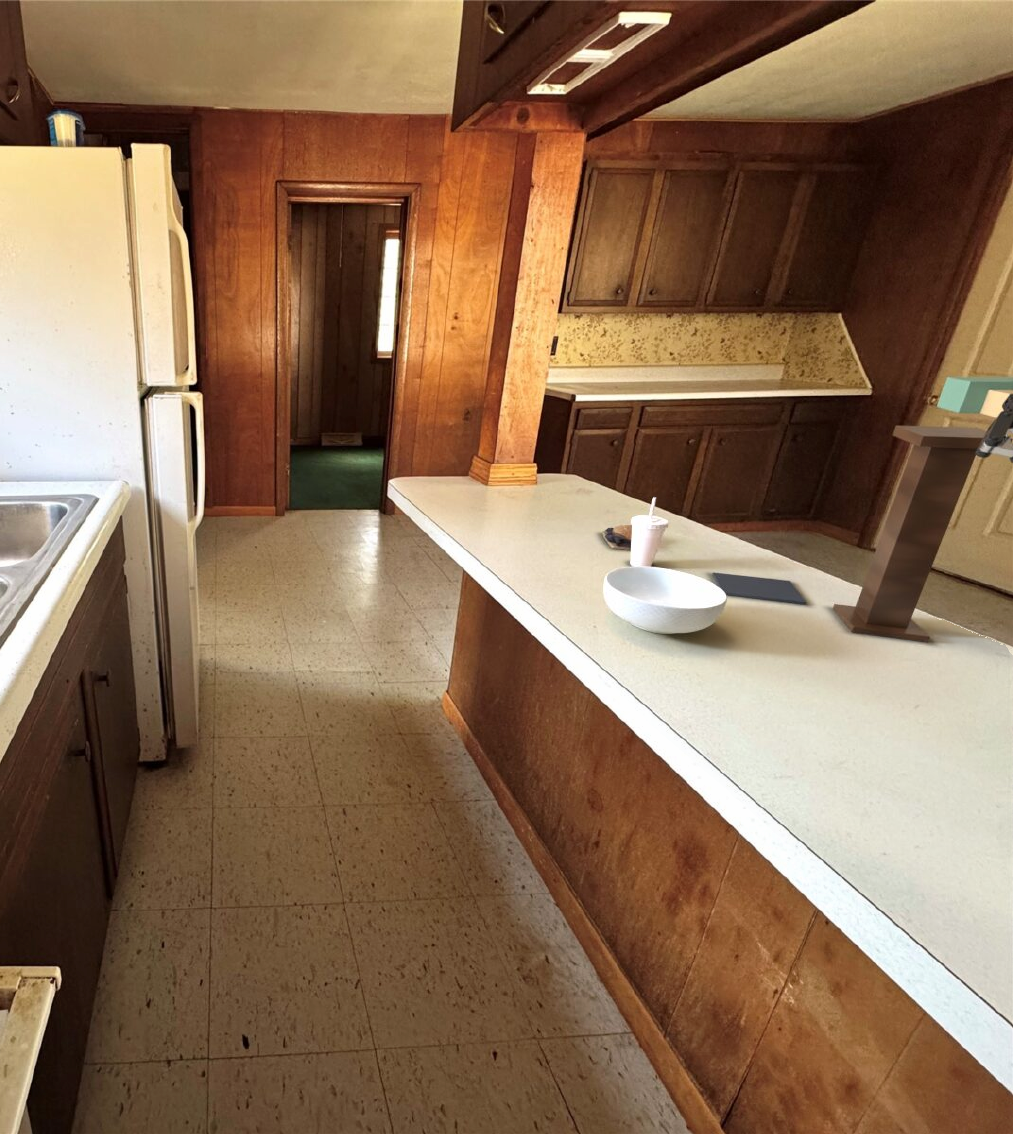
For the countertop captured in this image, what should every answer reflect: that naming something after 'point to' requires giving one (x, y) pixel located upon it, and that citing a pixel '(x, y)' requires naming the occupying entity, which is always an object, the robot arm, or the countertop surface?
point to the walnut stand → (913, 530)
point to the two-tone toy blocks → (976, 394)
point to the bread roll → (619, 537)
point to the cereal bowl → (663, 599)
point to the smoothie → (646, 537)
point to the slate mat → (758, 588)
